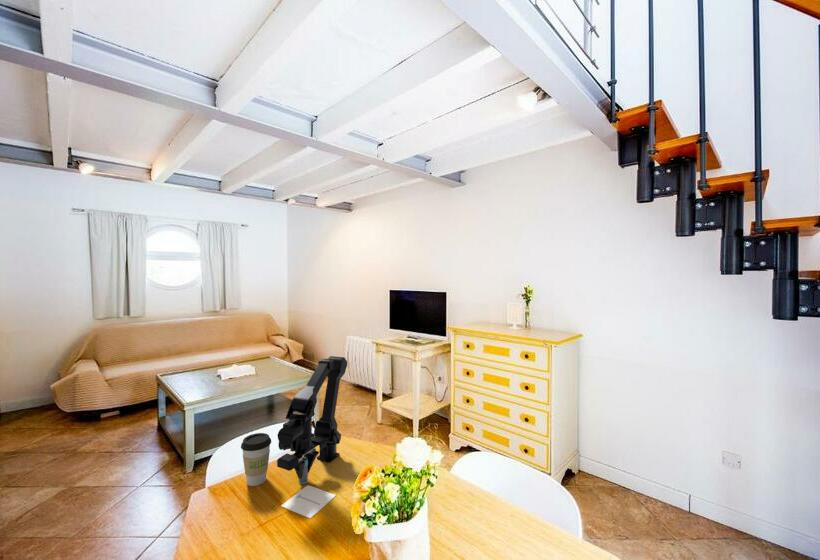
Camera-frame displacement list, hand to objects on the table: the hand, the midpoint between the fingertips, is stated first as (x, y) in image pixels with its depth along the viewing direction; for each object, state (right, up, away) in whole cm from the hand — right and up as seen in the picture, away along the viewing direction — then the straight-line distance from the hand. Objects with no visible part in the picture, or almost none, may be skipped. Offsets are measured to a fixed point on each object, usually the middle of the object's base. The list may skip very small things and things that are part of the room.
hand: (303, 476), depth 124 cm
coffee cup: (-17, -2, +1) cm, 17 cm away
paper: (+5, -2, -10) cm, 12 cm away
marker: (0, -2, 0) cm, 2 cm away
